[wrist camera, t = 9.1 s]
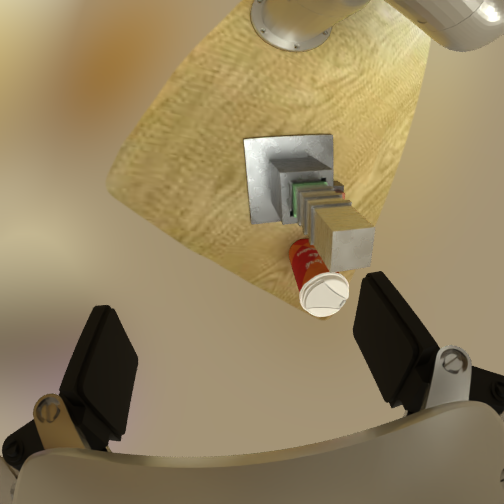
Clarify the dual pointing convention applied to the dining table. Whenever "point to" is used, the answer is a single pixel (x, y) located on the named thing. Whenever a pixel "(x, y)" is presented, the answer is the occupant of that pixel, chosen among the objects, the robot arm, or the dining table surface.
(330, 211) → the column
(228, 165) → the dining table surface
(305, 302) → the paper cup
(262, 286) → the dining table surface
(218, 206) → the dining table surface
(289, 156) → the stand base
